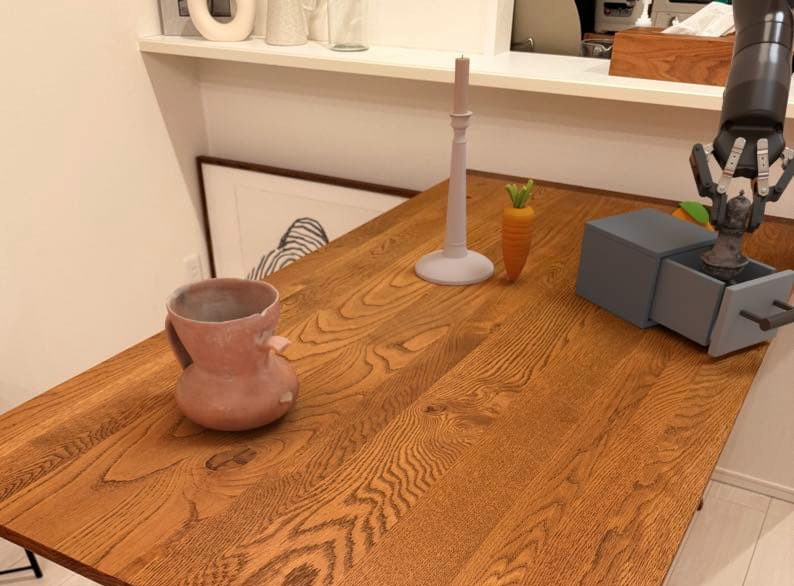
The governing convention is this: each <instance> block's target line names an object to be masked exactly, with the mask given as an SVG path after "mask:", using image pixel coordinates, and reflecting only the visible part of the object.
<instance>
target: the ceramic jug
mask: <svg viewBox="0 0 794 586" xmlns="http://www.w3.org/2000/svg"><path fill="white" fill-rule="evenodd" d="M165 306H166V311H167V315H166V317H165V321H164V333H165V337H166V341H167V343H168V346H169V348H170V350H171V352H172V354H173V355H174V357H175V359H176V361H177V362H178V364H179V366H180V368H181V369H182V372H181V374H180V375H179V376H178V378H177V380H176V383H175V385H174V390H173V391H174V392H173V397H174V401H175V403H176V405H177V408H178V409H179V411H180V412H181V413H182V415H184V417H185V418H187V419H188V420H190V421H191V422H193V423H194V424H195V425H198V426H201V427H204V428H205V429H210V430H214V431H222V432H243V431H249V430H253V429H259V428H262V427H264V426H266V425H269V424H271V423H274V422H275V421H277V420H279V419H280V418H282V417H283V416H284V415H286V414H287V413H288V412H289V411H290V410H291V409H292V408H293V407H294V405H295V403H296V401H297V399H298V396H299V393H300V379H299V376H298V373H297V370H295V368H294V367H293V366H292V365H291V364H290V363H289V362H287V360H285V359H283V358H282V357H280V356H278V355H283V354H284V352H285V351H286V349H287V348H288V347H290V346H291V345H292V342H291V341H290V340H289V339H288V338H287V337H284V336H281V335H275V330H276V328H277V326H278V323H279V320H280V319H279V318H280V311H281V297H280V292H279V291H278V289H277V288H276V287H275V286H274V285H272V284H271V283H268V282H266V281H264V280H258V279H251V278H240V277H214V278H212V277H211V278H203V279H200V280H195V281H194V282H188V283H186V284H182V285H181V286H179V287H177V288H176V289H175V290H174V291H173V292H171V293H170V294H169V295H168V297H167V298H166V305H165ZM271 350H273V351H274V352H276V354H274V353H271Z"/></svg>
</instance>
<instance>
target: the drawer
mask: <svg viewBox="0 0 794 586" xmlns="http://www.w3.org/2000/svg"><path fill="white" fill-rule="evenodd" d="M714 246H715V245H714V244H713V245H709V246H705V247H701V248H697V249H693V250H689V251H685V252H681V253H677V254H673V255H669V256H666V257H662V258H661V260H660V264H659V269H658V274H657V278H656V283H655V288H654V292H653V297H652V302H651V306H650V311H649V316H648V318H650V319H652V320H654V321H656V322H658V323H660V324H659V325H662V326H664V327H666V328H668V329H670V330H672V331H674V332H676V333H678V334H679V335H682V336H684V337H686V338H688V339H690V340H691V341H693V342H695V343H697V344H700V345H702V346H704V347H707V346H708V345H709V346H708V351H707V354H708V355H709V356H711V357H714V358H716V357H719V356H722V355H725V354H728V353H731V352H735V351H738V350H740V349H743V348H746V347H750V346H753V345H755V344H759V343H762V342H764V341H768V340H771V339H774V338H776V337H777V334H778V331H779V328H781V327H784V326H787V325H790V324H793V323H794V306H793V305H791V304H789V303H788V301H789V298H790V295H791V292H792V289H793V286H794V270H792V269H786V270H783V271H779V272H776V271H777V268H776V267H773V266H771V265H769V264H766V263H764V262H761V261H759V260H755V259H753V258H750V257H748V256H746V257H747V258H748V259H749V262H748V264H747V265H745V266H744V269H743V271H742V272H741V273H740V274H739V276H737V277H735V278H734V279H733V280H734V281H735V282H737V283H738V284H736V285H733V286H729V287H726V289H725V292H724V293H723V290H724V286H725V283H724V282H722V281H719V280H717V279H715V278H712V277H710V276H708V275H705V273H704V272H703V270H702V259H701V254H702V253H704V252H706V251H710V250H712V249H713V248H714Z"/></svg>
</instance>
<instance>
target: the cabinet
mask: <svg viewBox="0 0 794 586" xmlns="http://www.w3.org/2000/svg"><path fill="white" fill-rule="evenodd" d="M582 233H583V234H582V240H581V248H580V253H579V259H578V268H577V275H576V281H575V288H574V294H575V295H577V296H579V297H581V298H582V299H585V300H587V301H588V302H590V303H592V304H594V305H596V306H598V307H600V308H602V309H604V310H605V311H607V312H609V313H611V314H612V315H615V316H616V317H619V318H620V319H623V320H624V321H627V322H628V323H630V324H632V325H633V326H636V327H637V328H639V329H641V330H643V329H647V328H650V327H653V326H656V325H661V324H660V323H658V322H656V321H654V320H652V319H650V318H648V316H649V311H650V306H651V302H652V297H653V292H654V288H655V283H656V278H657V274H658V269H659V264H660V260H661V258H662V257H666V256H669V255H673V254H677V253H681V252H685V251H689V250H693V249H697V248H701V247H705V246H709V245H713V244H714V245H715V244H716V241H717V237H718V233H719V232H718V231H715V230H714V231H712V230H709V229H707V228H704V227H701V226H698V225H696V224H693V223H690V222H688V221H685V220H682V219H680V218H677V217H674V216H672V214H669V213H665V212H663V211H661V210H658V209H656V208H653V207H646V208H642V209H637V210H633V211H629V212H624V213H620V214H615V215H611V216H607V217H601V218H598V219H592V220H589V221H585V222H584V228H583V232H582Z"/></svg>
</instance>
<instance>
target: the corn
mask: <svg viewBox="0 0 794 586" xmlns="http://www.w3.org/2000/svg"><path fill="white" fill-rule="evenodd" d="M711 210H712V208H710V207H709V206H708V205H706V204H702V203H700V202H698V201H691V200H685V201H683V202H679V203H678V204H677V209H675V210H674V211H673V212H672V213H671V215H672V216H674V217H677V218H680V219H682V220H685V221H688V222H690V223H693V224H696V225H698V226H701V227H704V228H707V229H709V230H712V231H715V230H714V226H711V224H710V216H711Z"/></svg>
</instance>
